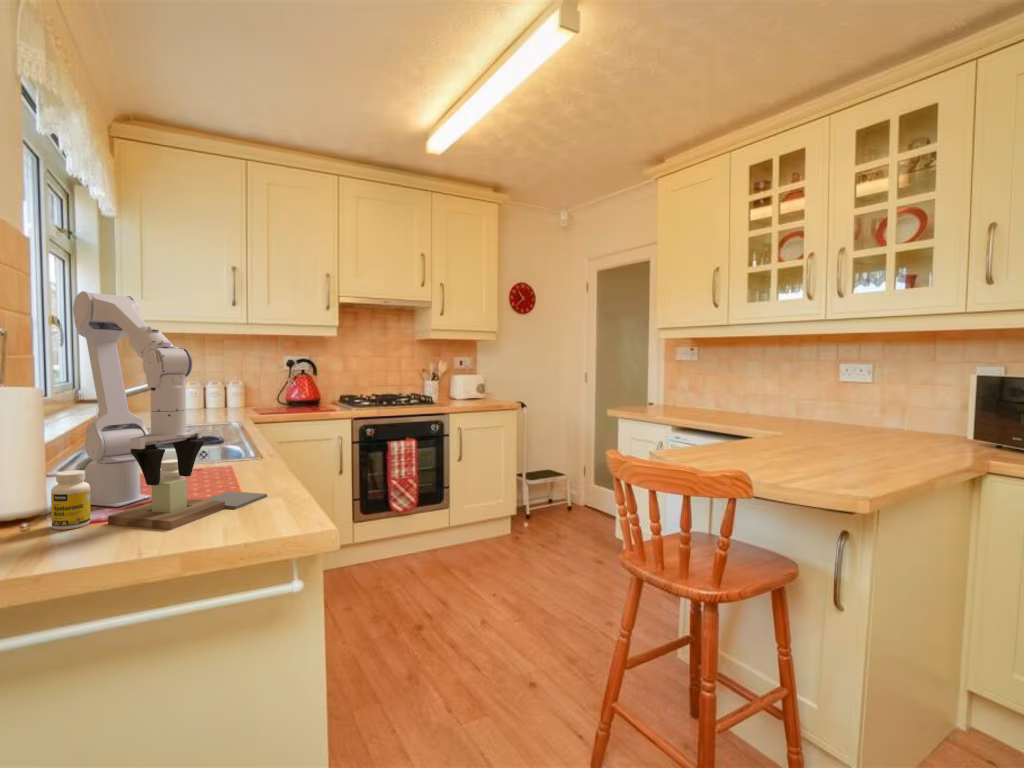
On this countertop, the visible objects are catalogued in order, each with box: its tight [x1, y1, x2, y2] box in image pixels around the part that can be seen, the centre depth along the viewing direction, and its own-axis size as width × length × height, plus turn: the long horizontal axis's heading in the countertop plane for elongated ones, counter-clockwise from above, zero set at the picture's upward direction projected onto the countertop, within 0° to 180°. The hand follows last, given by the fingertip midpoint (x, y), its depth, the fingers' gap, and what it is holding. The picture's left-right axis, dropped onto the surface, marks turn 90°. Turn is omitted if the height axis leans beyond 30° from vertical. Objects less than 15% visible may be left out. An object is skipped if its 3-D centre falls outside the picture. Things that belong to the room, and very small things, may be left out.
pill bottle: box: [160, 458, 185, 480], centre depth 112 cm, size 5×5×8 cm
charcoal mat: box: [202, 490, 268, 510], centre depth 112 cm, size 10×10×1 cm
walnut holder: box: [107, 498, 226, 530], centre depth 101 cm, size 13×13×2 cm
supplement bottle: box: [50, 469, 91, 531], centre depth 94 cm, size 5×5×10 cm
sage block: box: [151, 478, 188, 513], centre depth 101 cm, size 4×4×7 cm
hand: (169, 480), depth 101 cm, fingers open, 7 cm apart
